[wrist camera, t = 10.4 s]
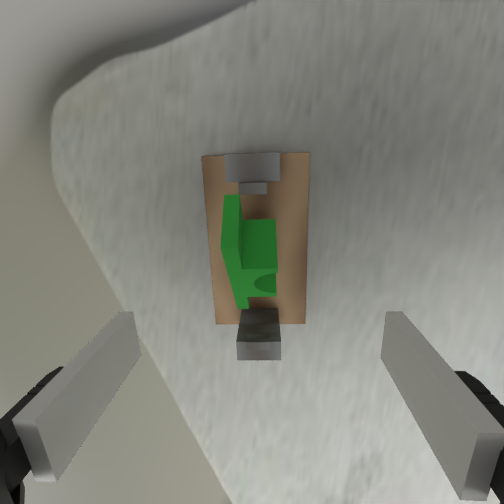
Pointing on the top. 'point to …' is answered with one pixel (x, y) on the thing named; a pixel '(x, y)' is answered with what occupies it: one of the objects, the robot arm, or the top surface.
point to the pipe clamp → (248, 253)
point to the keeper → (287, 233)
